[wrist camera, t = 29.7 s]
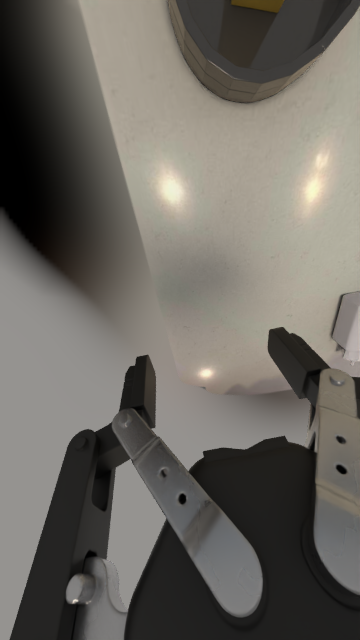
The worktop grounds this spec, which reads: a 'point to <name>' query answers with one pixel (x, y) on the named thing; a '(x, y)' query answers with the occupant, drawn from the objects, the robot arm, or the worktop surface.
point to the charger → (349, 327)
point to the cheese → (260, 4)
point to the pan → (255, 42)
